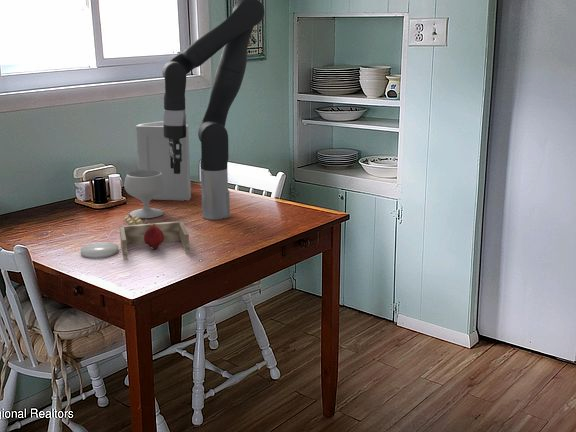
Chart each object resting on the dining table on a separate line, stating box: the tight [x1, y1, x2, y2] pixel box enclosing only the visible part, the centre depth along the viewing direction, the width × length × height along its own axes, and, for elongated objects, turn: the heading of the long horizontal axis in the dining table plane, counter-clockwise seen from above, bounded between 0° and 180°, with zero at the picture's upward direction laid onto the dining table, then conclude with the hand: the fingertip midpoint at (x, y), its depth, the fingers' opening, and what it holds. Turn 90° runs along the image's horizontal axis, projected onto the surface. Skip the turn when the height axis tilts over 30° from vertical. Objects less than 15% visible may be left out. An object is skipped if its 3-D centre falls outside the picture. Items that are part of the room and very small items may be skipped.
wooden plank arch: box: [119, 220, 191, 261], centre depth 208 cm, size 19×14×6 cm
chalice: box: [123, 169, 165, 219], centre depth 242 cm, size 14×14×15 cm
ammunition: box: [123, 215, 151, 225], centre depth 226 cm, size 5×7×8 cm
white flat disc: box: [80, 241, 120, 259], centre depth 207 cm, size 11×11×1 cm
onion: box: [144, 223, 164, 250], centre depth 208 cm, size 6×6×8 cm
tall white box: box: [135, 120, 192, 201], centre depth 266 cm, size 19×15×28 cm
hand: (175, 170), depth 234 cm, fingers open, 8 cm apart
